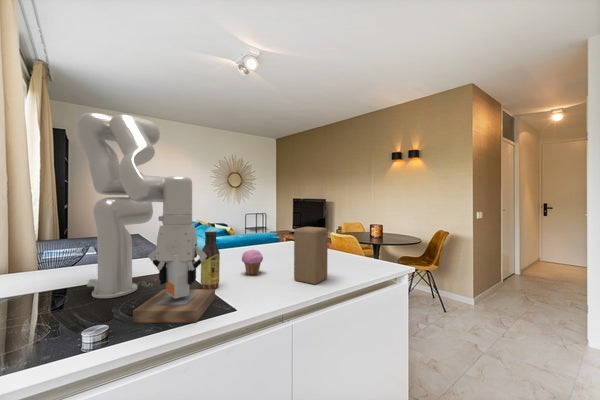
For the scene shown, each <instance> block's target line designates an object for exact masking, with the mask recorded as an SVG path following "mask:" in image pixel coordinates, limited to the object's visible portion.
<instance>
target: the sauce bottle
mask: <svg viewBox="0 0 600 400" xmlns="http://www.w3.org/2000/svg"><path fill="white" fill-rule="evenodd" d="M217 235H218V231H217V230H204V236H205V237H204V238H205V240H204V241H205V242H204V246H203V247H202V249H201V250H202V251H203V252H204V253H205V254H206V255H207V257H206V258H205V259H204V261H203V262H202V263H201V264H200V284H201V285H200V287H201V289H217V288H218V287H219V285H220V284H219V283H220V265H221V263H220V260H221V259H220V255H221V254H220V251H219V248H218V244H217Z"/></svg>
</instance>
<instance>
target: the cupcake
mask: <svg viewBox="0 0 600 400" xmlns="http://www.w3.org/2000/svg"><path fill="white" fill-rule="evenodd" d="M263 260H264V257H263V254H262V253H261V251H259V250H255V249H249V250H246V251H244V252H243V253H242V256H241V262H242V263H244V269H245V272H246V274H247V275H249V276H250V275H252V276H253V275H254V276H255V275H259V273H260V267H261V263H263Z"/></svg>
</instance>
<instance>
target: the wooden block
mask: <svg viewBox="0 0 600 400" xmlns="http://www.w3.org/2000/svg"><path fill="white" fill-rule="evenodd" d="M293 233H294V235H293V239H294V240H293V244H294V245H293V255H294V256H293V259H294V261H293V280H294V281H296V282H302V283H307V284H311V285H318V284H319V283H321V282H323V281H324V280H326V279H327V278H328V245H329V243H328V241H329V239H328V233H329V232H328V228H326V227H318V226H316V227H315V226H303V227H299V228H298V227H297V228H295V229H294V232H293Z"/></svg>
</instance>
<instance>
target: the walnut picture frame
mask: <svg viewBox="0 0 600 400" xmlns="http://www.w3.org/2000/svg"><path fill="white" fill-rule="evenodd" d="M215 300H216V288H214V289H202V288H201V289H199V288H195V289H190V288H189V295H187V296H184V297H180V298H176V299H175V298H173V297H172V296H170V295H169V294H167V293H166V289H165V288H164V289H162V290H161V291H159V292H157V293H156V294H155V295H154V296H152V297H151V298H149V299H148V300H147V301H145V302H143V303H142V304H141V305H139V306H138V307H137V308H135V309H133V310H132V323H134V324H135V323H141V324H142V323H147V324H149V323H154V324H155V323H157V324H158V323H160V324H161V323H168V324H169V323H174V324H175V323H178V324H179V323H181V324H182V323H189V324H190V323H192V324H193V323H197V322H198V321H199V320H200V319H201V317H202V316H203V315H204V314H205V312H206V311H207V310H208V309H209V307H210V306H211V304H212V303H213V302H214V301H215Z"/></svg>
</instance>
